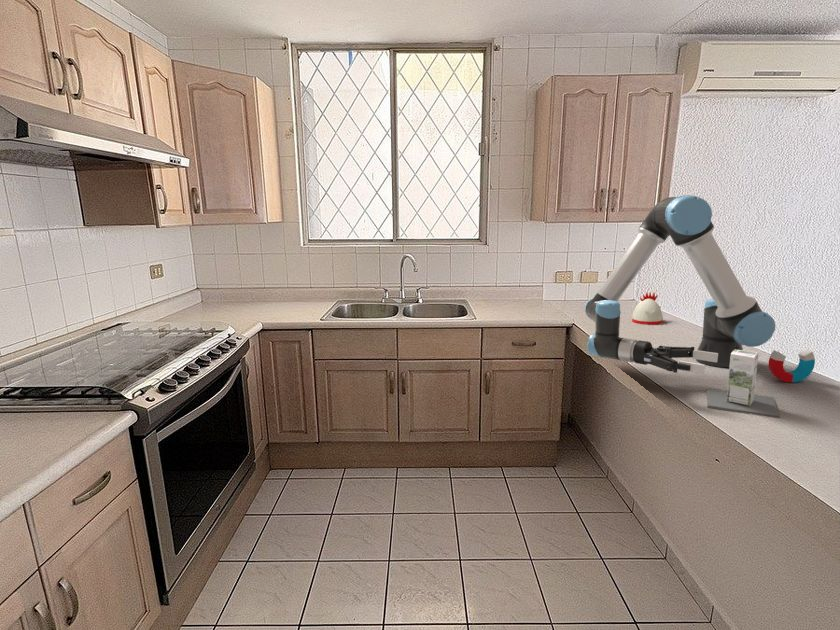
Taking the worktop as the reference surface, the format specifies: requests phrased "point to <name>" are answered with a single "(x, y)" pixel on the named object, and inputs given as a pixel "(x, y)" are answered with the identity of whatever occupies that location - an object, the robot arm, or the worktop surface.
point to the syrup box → (742, 377)
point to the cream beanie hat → (648, 311)
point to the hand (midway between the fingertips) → (711, 363)
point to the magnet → (797, 374)
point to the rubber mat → (758, 406)
